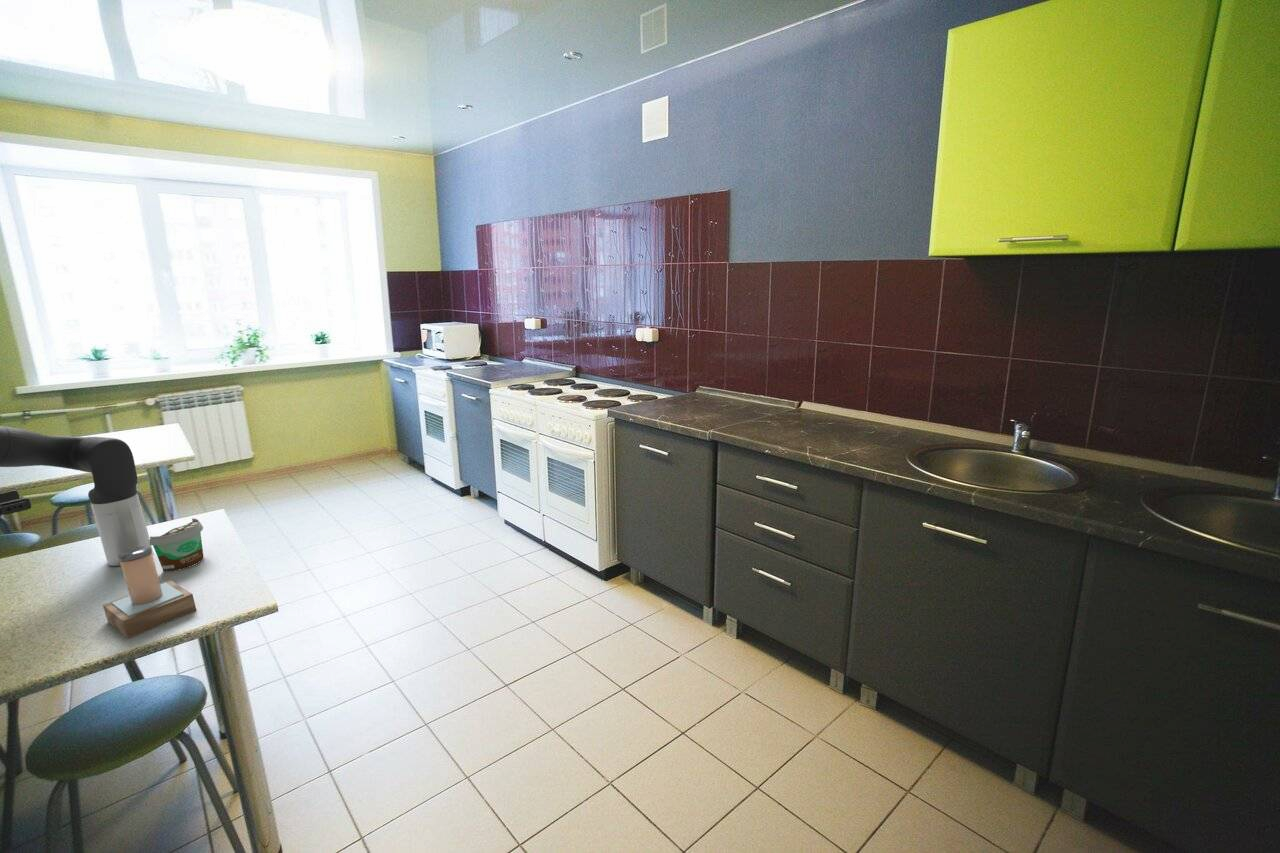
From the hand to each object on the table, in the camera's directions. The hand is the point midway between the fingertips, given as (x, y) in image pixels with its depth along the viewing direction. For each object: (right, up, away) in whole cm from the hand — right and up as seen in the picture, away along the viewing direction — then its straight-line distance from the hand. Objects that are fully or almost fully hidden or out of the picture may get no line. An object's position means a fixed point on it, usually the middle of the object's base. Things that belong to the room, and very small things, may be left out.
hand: (23, 498), depth 113 cm
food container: (+4, -22, +37) cm, 43 cm away
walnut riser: (+14, -27, +13) cm, 33 cm away
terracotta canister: (+14, -23, +12) cm, 29 cm away
